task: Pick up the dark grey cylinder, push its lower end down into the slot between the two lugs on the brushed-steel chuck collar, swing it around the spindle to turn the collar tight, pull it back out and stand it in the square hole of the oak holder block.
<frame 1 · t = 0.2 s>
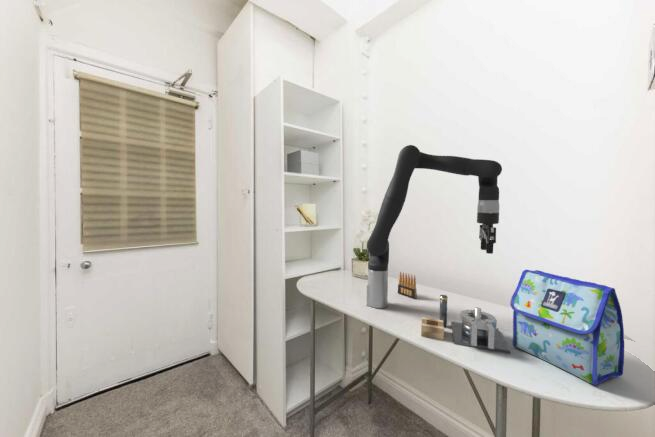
hand: (486, 251, 105), 29 cm above the table, tool pointing down, fingers open, 8 cm apart
collar: (478, 326, 90), point 5 cm above the table, hinge at 0.0°
ammunition clip: (406, 296, 135), on the table
chuck base: (477, 337, 92), on the table
dark grey cylinder: (443, 325, 101), on the table
lunch bag: (560, 362, 78), on the table
holder: (432, 333, 95), on the table
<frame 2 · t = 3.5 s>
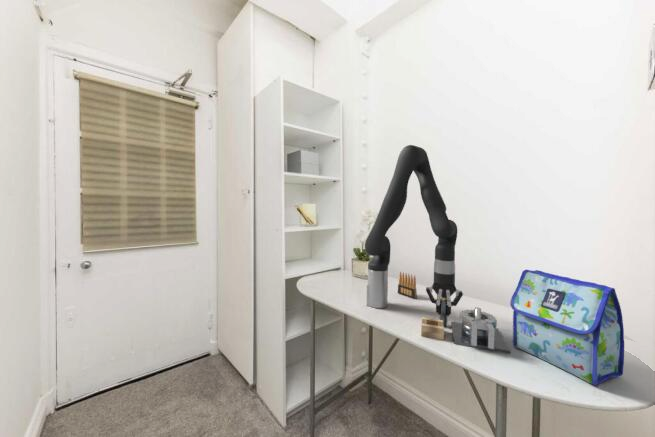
hand: (443, 314, 101), 5 cm above the table, tool pointing down, fingers closed on dark grey cylinder, 2 cm apart
dark grey cylinder: (443, 325, 101), on the table, touching gripper
everything else where it was.
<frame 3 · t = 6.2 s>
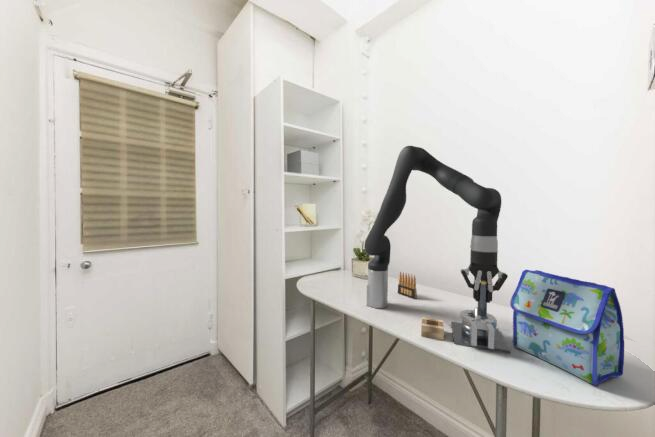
hand: (482, 301, 85), 16 cm above the table, tool pointing down, fingers closed on dark grey cylinder, 2 cm apart
dark grey cylinder: (482, 314, 85), point 11 cm above the table, touching gripper
everything else where it was.
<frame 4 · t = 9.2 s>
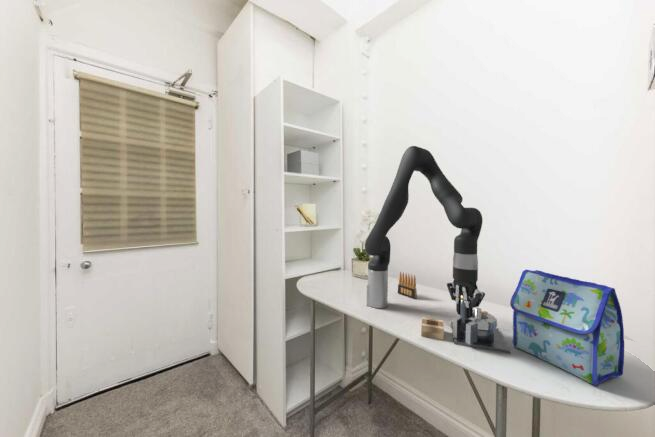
hand: (464, 315, 88), 9 cm above the table, tool pointing down, fingers closed on dark grey cylinder, 2 cm apart
collar: (474, 325, 91), point 5 cm above the table, hinge at -39.0°, touching dark grey cylinder
dark grey cylinder: (463, 329, 89), point 5 cm above the table, touching collar, gripper
everything else where it was.
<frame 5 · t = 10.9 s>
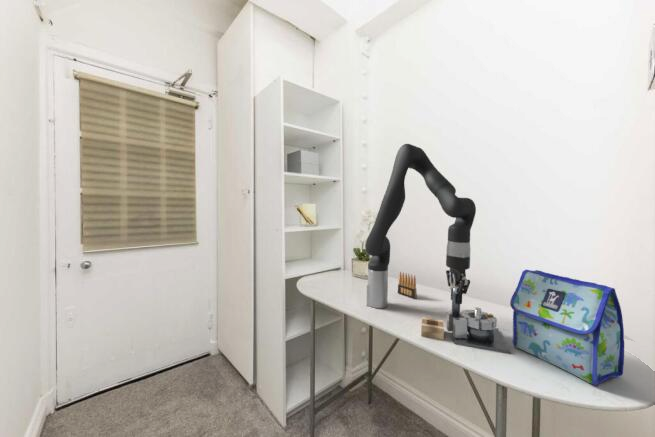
hand: (456, 301, 92), 13 cm above the table, tool pointing down, fingers closed on dark grey cylinder, 2 cm apart
collar: (471, 324, 92), point 5 cm above the table, hinge at -68.5°
dark grey cylinder: (455, 316, 92), point 8 cm above the table, touching gripper
everything else where it was.
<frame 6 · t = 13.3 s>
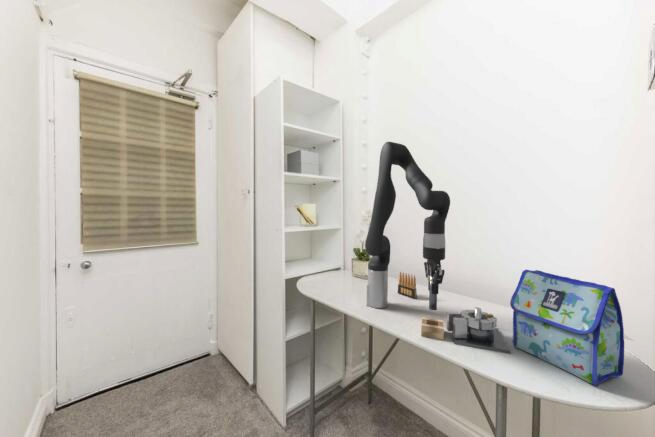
hand: (433, 292, 94), 15 cm above the table, tool pointing down, fingers closed on dark grey cylinder, 2 cm apart
dark grey cylinder: (432, 308, 95), point 9 cm above the table, touching gripper
everything else where it was.
when the fingers open (7 cm above the table, at t = 15.0 s): dark grey cylinder stays where it is, resting in holder.
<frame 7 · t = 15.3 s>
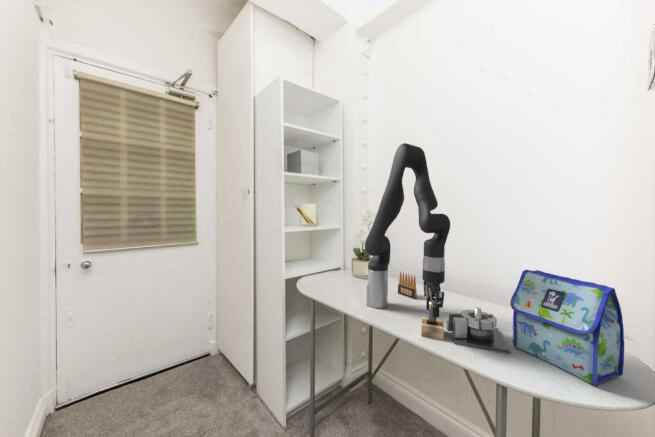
hand: (432, 313, 95), 7 cm above the table, tool pointing down, fingers open, 5 cm apart
dark grey cylinder: (432, 333, 95), resting in holder
everything else where it was.
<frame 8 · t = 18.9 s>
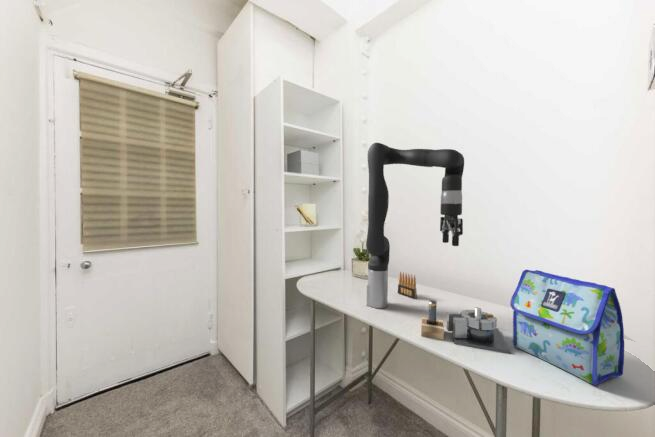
hand: (450, 244, 101), 32 cm above the table, tool pointing down, fingers open, 8 cm apart
nothing on the table moved.
at the end: collar at -68° (first picture: +0°); dark grey cylinder 0.0 cm off-centre on the holder, point 0.0 cm above the holder's base; the gripper is holding nothing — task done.
